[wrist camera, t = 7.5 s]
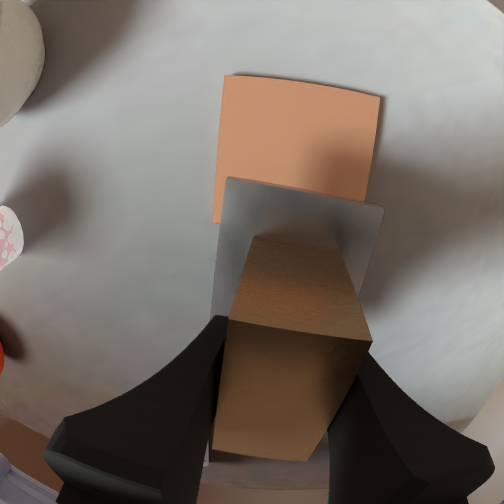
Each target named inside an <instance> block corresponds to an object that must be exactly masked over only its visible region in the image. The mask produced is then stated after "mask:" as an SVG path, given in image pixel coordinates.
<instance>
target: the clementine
mask: <svg viewBox="0 0 504 504" xmlns="http://www.w3.org/2000/svg"><path fill="white" fill-rule="evenodd" d="M3 366H4V351H3V347H2V344H1V342H0V374H1V372H2V370H3Z"/></svg>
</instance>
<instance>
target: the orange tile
mask: <svg viewBox="0 0 504 504" xmlns="http://www.w3.org/2000/svg"><path fill="white" fill-rule="evenodd" d="M379 103H380V97H376V96H372V95H368V94H364V93H359V92H355V91H350V90H345V89H340V88H335V87H329V86H324V85H318V84H311V83H305V82H298V81H290V80H282V79H273V78H263V77H251V76H236V75H225V76H224V85H223V94H222V104H221V115H220V125H219V137H218V148H217V161H216V174H215V187H214V202H213V218H212V223H220V222H221V213H222V205H223V197H224V189H225V182H226V178H227V177H228V176H232V177H238V178H244V179H251V180H257V181H263V182H269V183H274V184H280V185H286V186H291V187H296V188H302V189H307V190H312V191H317V192H322V193H327V194H332V195H336V196H341V197H346V198H350V199H355V200H359V201H363V202H364V201H365V196H366V190H367V185H368V179H369V173H370V168H371V161H372V155H373V149H374V142H375V135H376V128H377V120H378V112H379Z"/></svg>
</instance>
